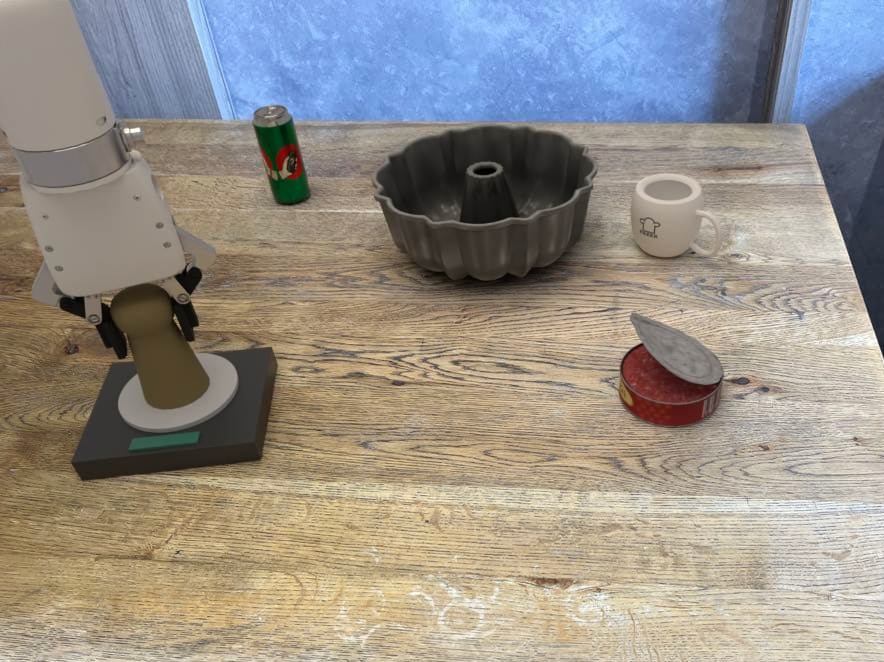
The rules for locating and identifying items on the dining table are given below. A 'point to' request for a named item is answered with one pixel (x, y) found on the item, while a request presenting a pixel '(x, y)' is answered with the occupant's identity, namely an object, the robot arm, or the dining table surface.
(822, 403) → the dining table surface
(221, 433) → the scale
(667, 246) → the mug
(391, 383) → the dining table surface
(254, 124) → the soda can
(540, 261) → the bundt pan
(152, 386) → the cork
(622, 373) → the canned food
